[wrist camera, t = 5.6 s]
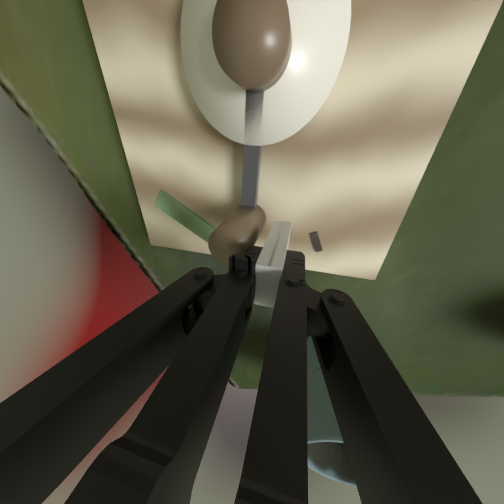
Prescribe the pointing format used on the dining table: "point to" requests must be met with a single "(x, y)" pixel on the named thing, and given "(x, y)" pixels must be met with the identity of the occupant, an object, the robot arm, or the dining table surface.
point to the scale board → (302, 143)
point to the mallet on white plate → (259, 83)
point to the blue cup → (324, 427)
